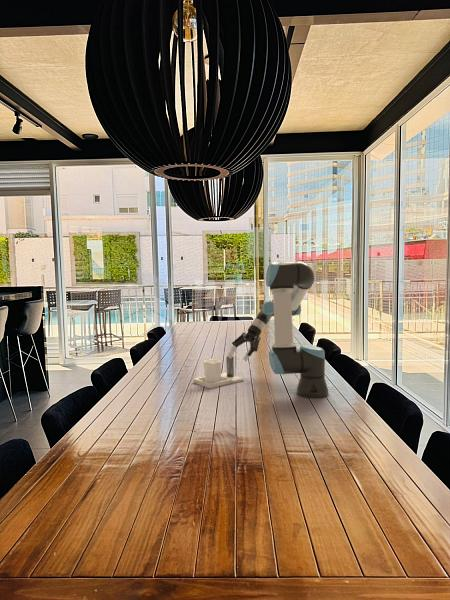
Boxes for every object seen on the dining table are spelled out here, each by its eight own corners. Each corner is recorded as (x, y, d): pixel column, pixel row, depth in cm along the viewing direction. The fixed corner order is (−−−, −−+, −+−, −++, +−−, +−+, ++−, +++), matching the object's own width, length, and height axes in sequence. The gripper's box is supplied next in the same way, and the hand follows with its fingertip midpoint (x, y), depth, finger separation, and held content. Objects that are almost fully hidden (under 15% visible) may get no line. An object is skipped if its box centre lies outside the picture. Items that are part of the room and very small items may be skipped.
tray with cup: (243, 380, 235) (243, 358, 234) (210, 388, 221) (209, 365, 220) (225, 374, 248) (225, 353, 247) (193, 382, 234) (192, 360, 233)
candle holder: (200, 384, 230) (199, 362, 229) (209, 379, 239) (209, 358, 238) (216, 386, 226) (216, 363, 225) (225, 381, 234) (224, 359, 233)
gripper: (274, 335, 242) (254, 365, 235) (246, 329, 262) (227, 357, 255) (267, 327, 239) (247, 358, 231) (239, 321, 258) (219, 350, 251)
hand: (236, 357), depth 243 cm, fingers open, 13 cm apart
